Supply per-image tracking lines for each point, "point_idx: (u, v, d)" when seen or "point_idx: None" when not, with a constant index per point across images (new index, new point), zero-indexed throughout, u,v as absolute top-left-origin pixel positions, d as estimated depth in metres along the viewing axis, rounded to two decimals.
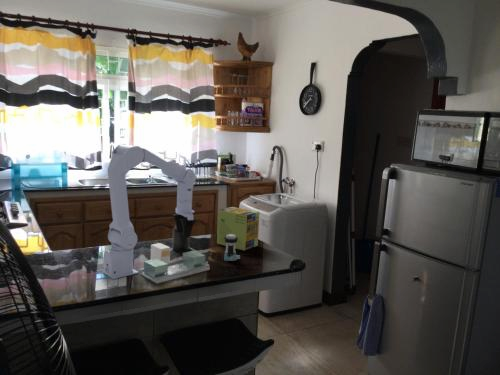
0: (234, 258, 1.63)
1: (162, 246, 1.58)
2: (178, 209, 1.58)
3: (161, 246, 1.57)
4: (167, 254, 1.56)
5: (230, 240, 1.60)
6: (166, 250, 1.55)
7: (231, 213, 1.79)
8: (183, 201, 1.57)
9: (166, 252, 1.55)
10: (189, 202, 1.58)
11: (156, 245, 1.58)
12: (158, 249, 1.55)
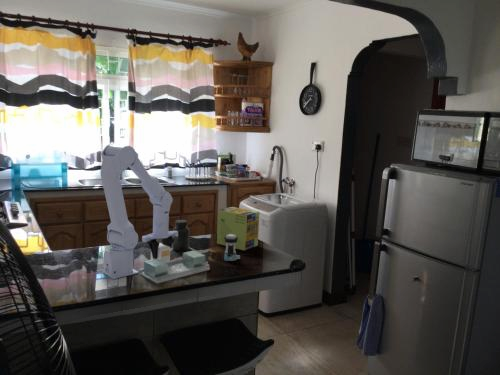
0: (234, 258, 1.63)
1: (162, 245, 1.58)
2: None
3: (161, 245, 1.57)
4: (167, 254, 1.56)
5: (230, 240, 1.60)
6: (166, 250, 1.55)
7: (231, 213, 1.79)
8: (153, 222, 1.55)
9: (166, 252, 1.55)
10: (156, 225, 1.54)
11: None
12: (158, 249, 1.55)
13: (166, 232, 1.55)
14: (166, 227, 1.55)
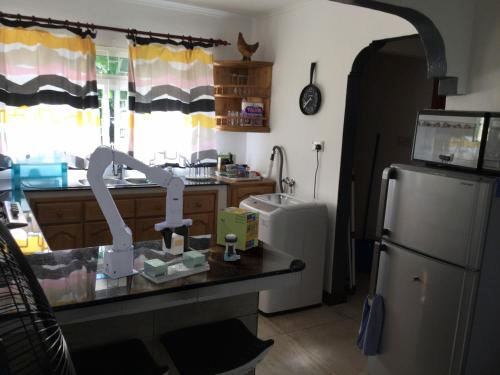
0: (234, 258, 1.63)
1: (175, 235, 1.48)
2: None
3: (174, 235, 1.48)
4: (180, 243, 1.46)
5: (230, 240, 1.60)
6: (179, 239, 1.46)
7: (231, 213, 1.79)
8: (166, 210, 1.45)
9: (179, 241, 1.46)
10: (169, 212, 1.44)
11: None
12: None
13: (180, 220, 1.45)
14: (180, 215, 1.45)
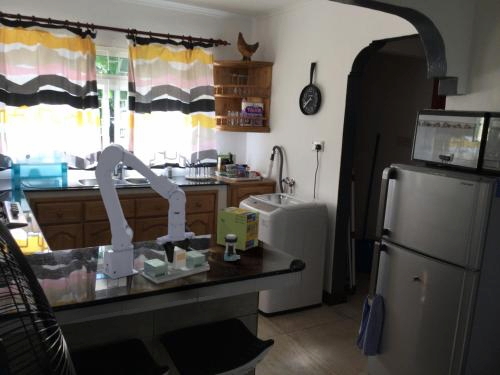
0: (234, 258, 1.63)
1: (177, 248, 1.47)
2: None
3: (176, 248, 1.47)
4: (183, 257, 1.45)
5: (230, 240, 1.60)
6: (181, 253, 1.45)
7: (231, 213, 1.79)
8: (168, 223, 1.44)
9: (182, 255, 1.45)
10: (171, 226, 1.43)
11: None
12: None
13: (182, 234, 1.44)
14: (182, 228, 1.44)
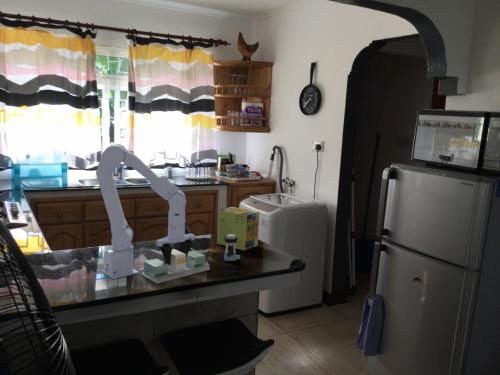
0: (234, 258, 1.63)
1: (177, 252, 1.47)
2: None
3: (176, 252, 1.47)
4: (182, 261, 1.45)
5: (230, 240, 1.60)
6: (181, 257, 1.45)
7: (231, 213, 1.79)
8: (168, 225, 1.45)
9: (181, 259, 1.45)
10: (171, 228, 1.43)
11: None
12: (173, 256, 1.44)
13: (182, 235, 1.44)
14: (182, 230, 1.44)
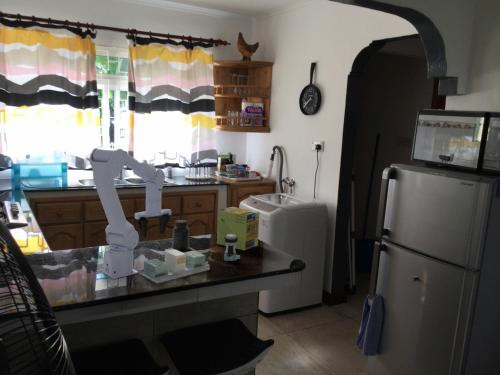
0: (234, 258, 1.63)
1: (177, 252, 1.47)
2: None
3: (176, 252, 1.47)
4: (182, 261, 1.45)
5: (230, 240, 1.60)
6: (181, 257, 1.45)
7: (231, 213, 1.79)
8: None
9: (181, 259, 1.45)
10: (148, 202, 1.54)
11: (170, 251, 1.47)
12: (173, 256, 1.44)
13: (159, 209, 1.56)
14: (159, 204, 1.55)
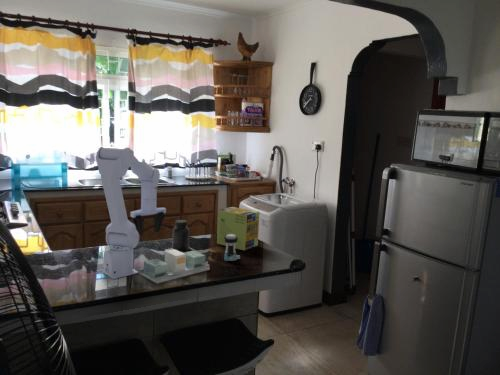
0: (234, 258, 1.63)
1: (177, 252, 1.47)
2: None
3: (176, 252, 1.47)
4: (182, 261, 1.45)
5: (230, 240, 1.60)
6: (181, 257, 1.45)
7: (231, 213, 1.79)
8: (141, 199, 1.58)
9: (181, 259, 1.45)
10: (144, 201, 1.57)
11: (170, 251, 1.47)
12: (173, 256, 1.44)
13: (154, 208, 1.58)
14: (154, 203, 1.58)
